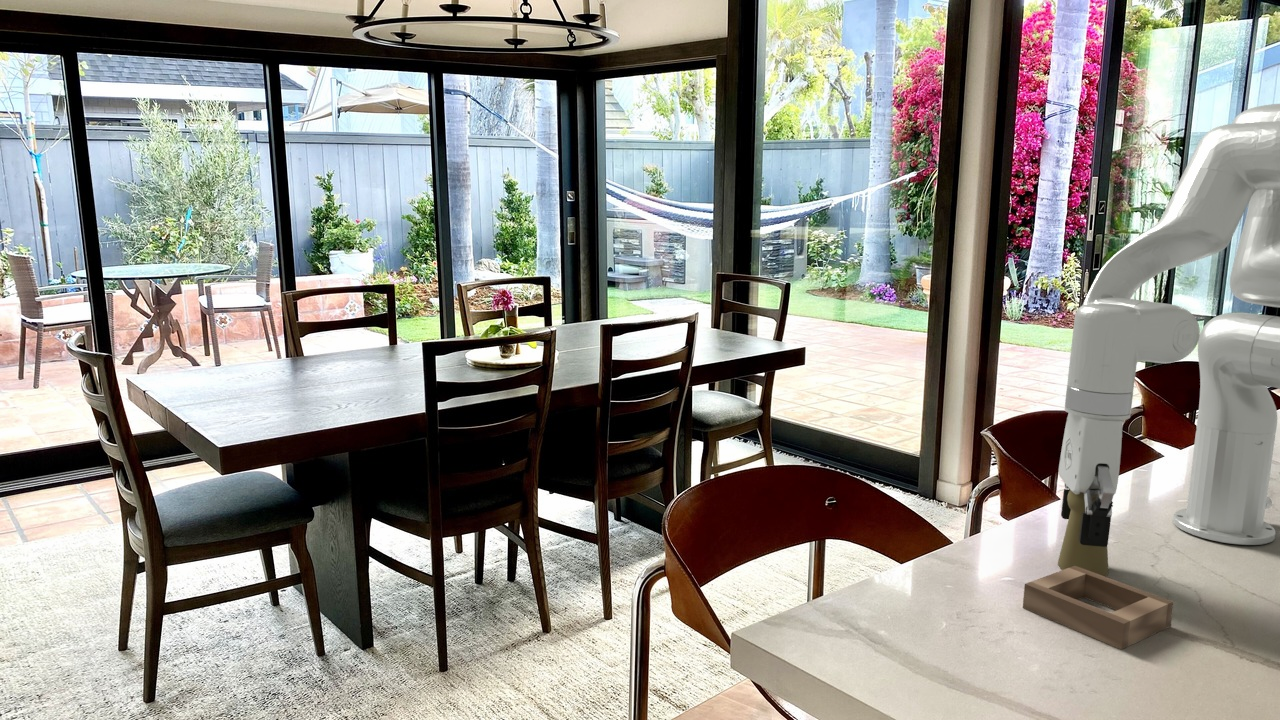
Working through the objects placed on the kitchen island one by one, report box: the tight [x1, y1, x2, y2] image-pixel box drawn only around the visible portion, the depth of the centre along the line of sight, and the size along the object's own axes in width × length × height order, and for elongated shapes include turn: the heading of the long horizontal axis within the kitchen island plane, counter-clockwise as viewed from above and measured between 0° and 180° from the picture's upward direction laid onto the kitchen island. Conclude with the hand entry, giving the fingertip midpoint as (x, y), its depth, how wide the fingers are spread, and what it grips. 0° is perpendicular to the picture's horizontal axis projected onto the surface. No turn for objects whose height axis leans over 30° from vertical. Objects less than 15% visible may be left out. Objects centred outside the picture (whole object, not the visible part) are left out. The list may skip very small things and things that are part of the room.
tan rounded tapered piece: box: [1057, 489, 1109, 577], centre depth 121 cm, size 6×6×11 cm
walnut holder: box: [1022, 566, 1174, 650], centre depth 108 cm, size 10×12×3 cm
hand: (1083, 531), depth 121 cm, fingers open, 9 cm apart
